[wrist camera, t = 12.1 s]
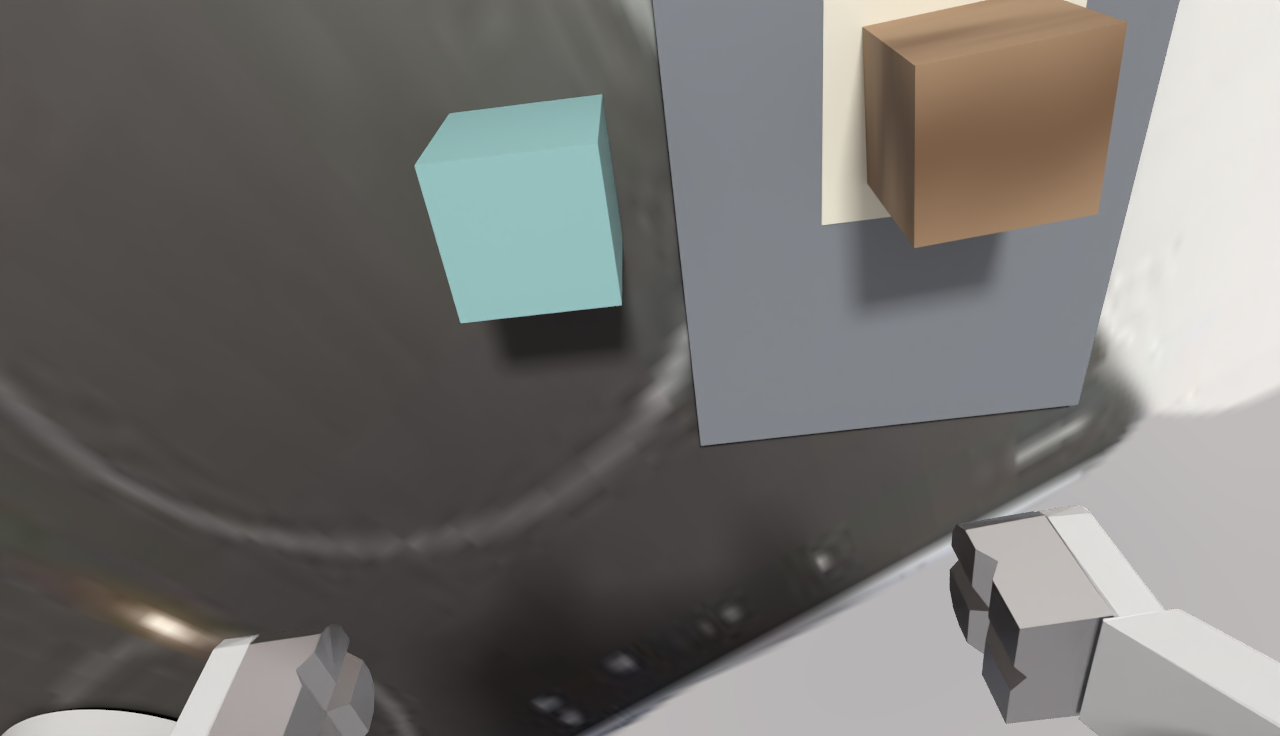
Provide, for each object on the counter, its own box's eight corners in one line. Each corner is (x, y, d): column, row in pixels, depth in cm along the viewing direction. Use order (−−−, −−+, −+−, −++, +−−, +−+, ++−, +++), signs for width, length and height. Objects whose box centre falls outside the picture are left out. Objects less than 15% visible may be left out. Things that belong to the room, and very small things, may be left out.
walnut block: (1019, 154, 22) (1098, 214, 19) (867, 183, 23) (914, 248, 19) (1034, -11, 20) (1127, 21, 16) (862, 26, 20) (915, 66, 17)
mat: (1072, 398, 28) (1078, 405, 28) (700, 438, 29) (701, 446, 29) (1245, -307, 17) (1259, -311, 17) (629, -209, 18) (629, -209, 17)
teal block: (622, 236, 24) (622, 305, 21) (485, 252, 25) (460, 323, 21) (602, 93, 22) (597, 143, 18) (449, 112, 22) (414, 165, 18)
